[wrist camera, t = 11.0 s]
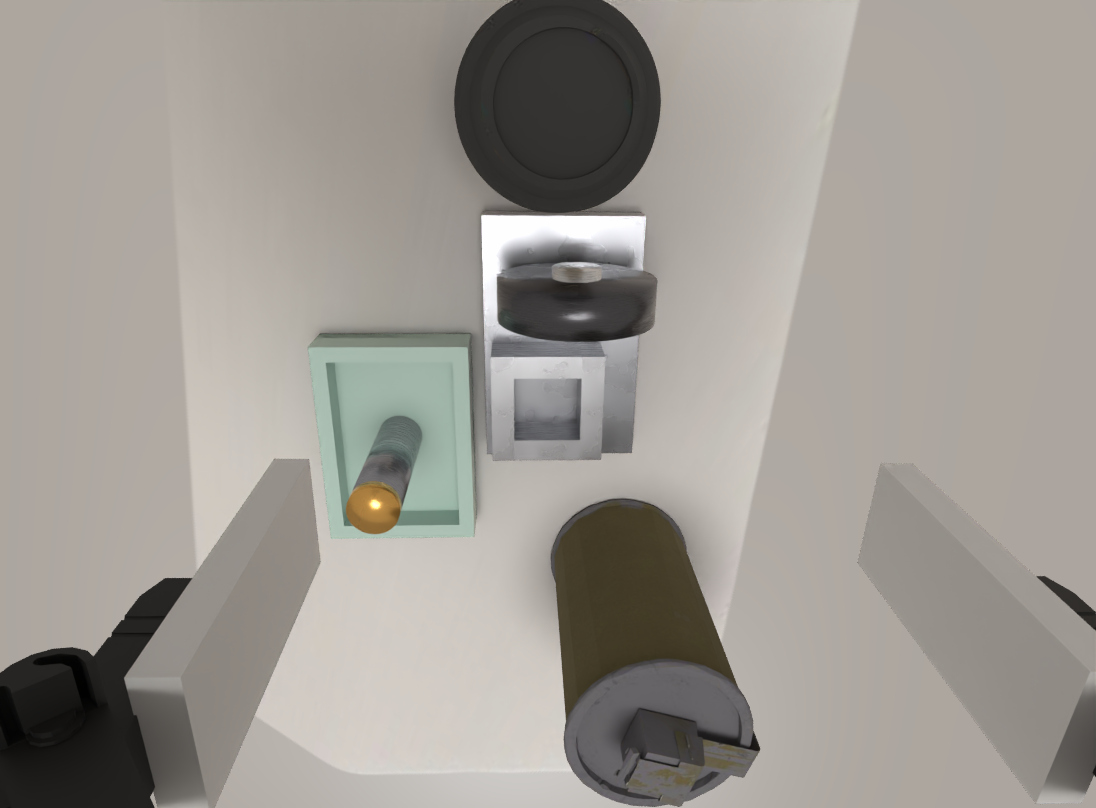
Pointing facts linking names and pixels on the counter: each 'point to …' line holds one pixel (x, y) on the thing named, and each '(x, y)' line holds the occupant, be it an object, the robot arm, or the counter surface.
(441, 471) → the tray
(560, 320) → the tensioner
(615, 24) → the coffee cup
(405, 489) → the lock pin
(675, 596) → the canister
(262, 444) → the counter surface
